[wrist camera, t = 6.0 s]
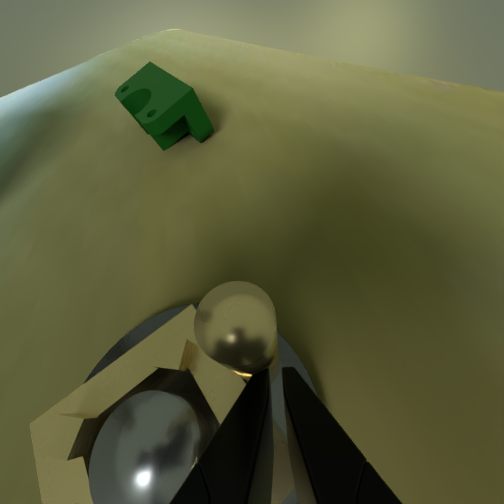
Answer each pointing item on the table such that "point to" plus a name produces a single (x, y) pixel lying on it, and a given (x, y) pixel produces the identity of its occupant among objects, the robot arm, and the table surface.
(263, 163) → the table surface
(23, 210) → the table surface
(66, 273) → the table surface
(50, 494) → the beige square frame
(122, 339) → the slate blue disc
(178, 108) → the green mounting bracket
